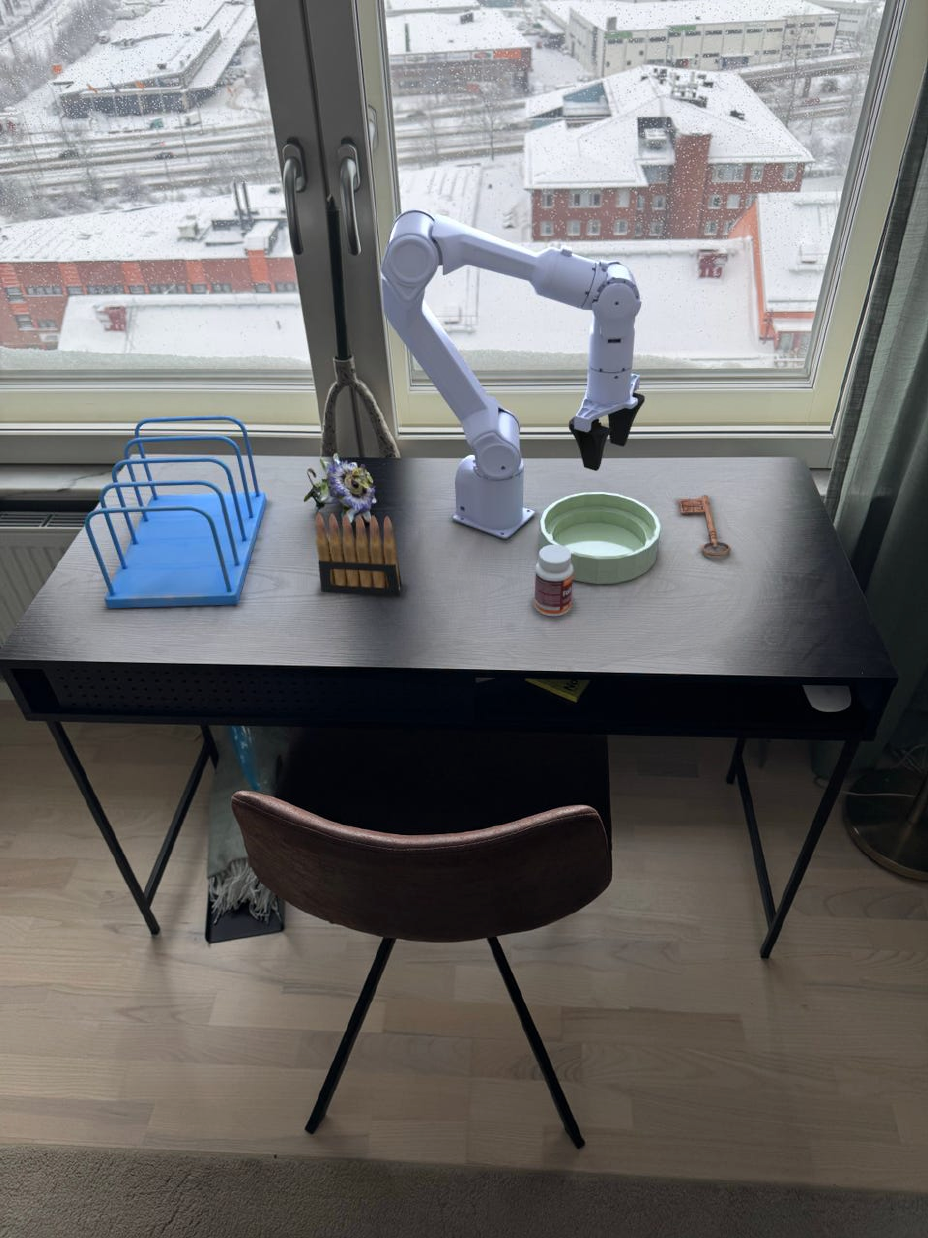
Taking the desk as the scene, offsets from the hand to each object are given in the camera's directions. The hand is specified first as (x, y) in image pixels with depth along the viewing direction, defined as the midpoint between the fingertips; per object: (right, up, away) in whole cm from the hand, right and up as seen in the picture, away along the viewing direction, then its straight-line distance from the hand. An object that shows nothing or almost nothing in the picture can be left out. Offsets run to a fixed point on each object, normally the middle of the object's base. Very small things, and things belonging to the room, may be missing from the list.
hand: (604, 455), depth 129 cm
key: (+15, -10, +4) cm, 18 cm away
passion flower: (-38, -8, +9) cm, 40 cm away
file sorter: (-58, -13, +3) cm, 60 cm away
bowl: (-1, -13, +1) cm, 13 cm away
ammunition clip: (-33, -19, -5) cm, 39 cm away
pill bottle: (-8, -21, -8) cm, 24 cm away
